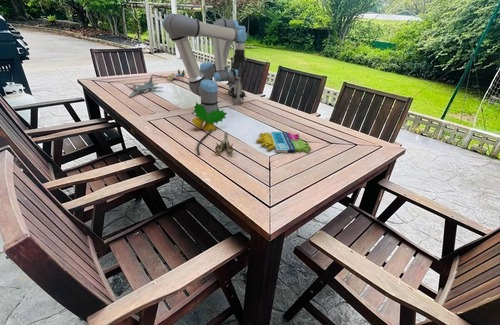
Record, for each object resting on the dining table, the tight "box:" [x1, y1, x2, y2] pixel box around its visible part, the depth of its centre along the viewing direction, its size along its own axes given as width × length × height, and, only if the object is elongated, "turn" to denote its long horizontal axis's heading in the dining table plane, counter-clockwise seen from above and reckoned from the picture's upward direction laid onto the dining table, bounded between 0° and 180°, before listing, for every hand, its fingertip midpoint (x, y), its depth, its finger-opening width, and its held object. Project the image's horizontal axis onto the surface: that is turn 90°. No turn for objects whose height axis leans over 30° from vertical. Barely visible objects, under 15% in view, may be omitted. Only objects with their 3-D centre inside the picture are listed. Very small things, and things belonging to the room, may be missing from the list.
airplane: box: [127, 74, 164, 98], centre depth 226 cm, size 38×31×10 cm
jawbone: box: [214, 131, 234, 156], centre depth 136 cm, size 9×15×10 cm
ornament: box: [191, 102, 228, 132], centre depth 162 cm, size 21×8×15 cm, turn 105°
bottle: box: [233, 81, 243, 106], centre depth 210 cm, size 6×6×20 cm
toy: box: [160, 69, 186, 82], centre depth 280 cm, size 28×7×30 cm
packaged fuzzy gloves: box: [256, 131, 312, 154], centre depth 152 cm, size 26×2×30 cm
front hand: (238, 81), depth 206 cm, fingers open, 5 cm apart
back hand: (238, 97), depth 207 cm, fingers closed on bottle, 6 cm apart
